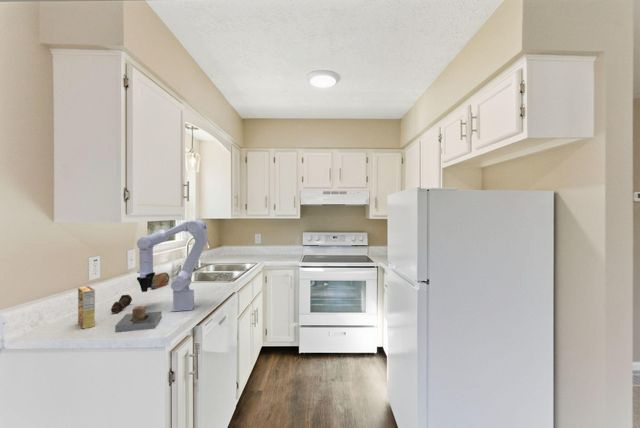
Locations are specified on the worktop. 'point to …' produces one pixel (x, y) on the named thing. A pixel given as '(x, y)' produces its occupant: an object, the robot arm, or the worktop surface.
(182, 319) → the worktop surface
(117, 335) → the worktop surface
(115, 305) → the dark brown dumbbell shape
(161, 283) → the brown oval slab
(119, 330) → the socket plate
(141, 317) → the block
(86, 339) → the worktop surface
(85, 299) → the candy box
